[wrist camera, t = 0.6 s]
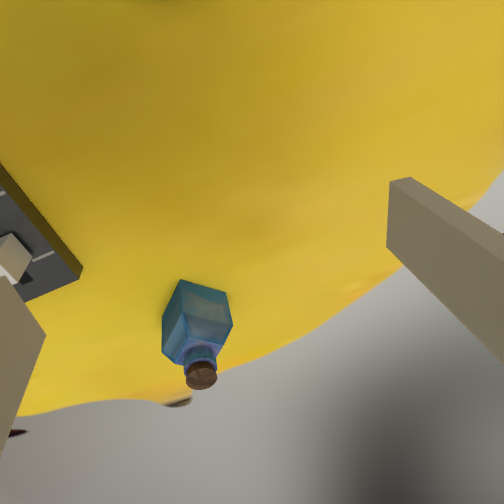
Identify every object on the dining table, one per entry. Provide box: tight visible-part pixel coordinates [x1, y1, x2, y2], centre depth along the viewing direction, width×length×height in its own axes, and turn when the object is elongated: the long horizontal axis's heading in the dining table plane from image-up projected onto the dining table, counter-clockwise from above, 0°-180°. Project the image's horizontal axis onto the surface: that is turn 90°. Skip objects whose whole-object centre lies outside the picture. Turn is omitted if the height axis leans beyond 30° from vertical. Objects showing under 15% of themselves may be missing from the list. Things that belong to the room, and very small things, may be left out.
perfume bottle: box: [162, 279, 233, 390], centre depth 42 cm, size 6×6×12 cm
